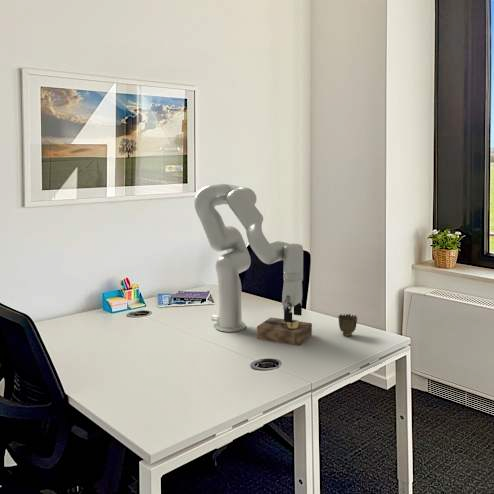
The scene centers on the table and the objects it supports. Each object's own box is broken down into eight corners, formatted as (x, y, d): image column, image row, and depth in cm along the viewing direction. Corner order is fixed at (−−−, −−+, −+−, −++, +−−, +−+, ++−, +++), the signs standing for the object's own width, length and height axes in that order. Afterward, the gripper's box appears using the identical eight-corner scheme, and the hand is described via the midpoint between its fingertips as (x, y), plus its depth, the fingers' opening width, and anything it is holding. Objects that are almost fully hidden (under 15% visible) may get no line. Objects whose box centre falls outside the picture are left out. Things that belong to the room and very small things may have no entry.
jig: (257, 338, 221) (257, 324, 220) (270, 328, 232) (270, 315, 231) (299, 345, 213) (299, 330, 212) (311, 335, 224) (311, 321, 223)
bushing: (285, 339, 220) (285, 322, 219) (289, 335, 224) (289, 318, 222) (295, 340, 218) (295, 323, 217) (299, 337, 222) (300, 320, 220)
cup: (356, 339, 219) (357, 319, 217) (337, 338, 220) (338, 318, 219) (356, 333, 226) (357, 314, 225) (338, 332, 227) (338, 313, 226)
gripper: (292, 270, 226) (292, 311, 229) (275, 279, 210) (275, 323, 213) (310, 272, 222) (309, 313, 225) (293, 281, 207) (293, 326, 210)
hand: (292, 318), depth 219 cm, fingers open, 9 cm apart
